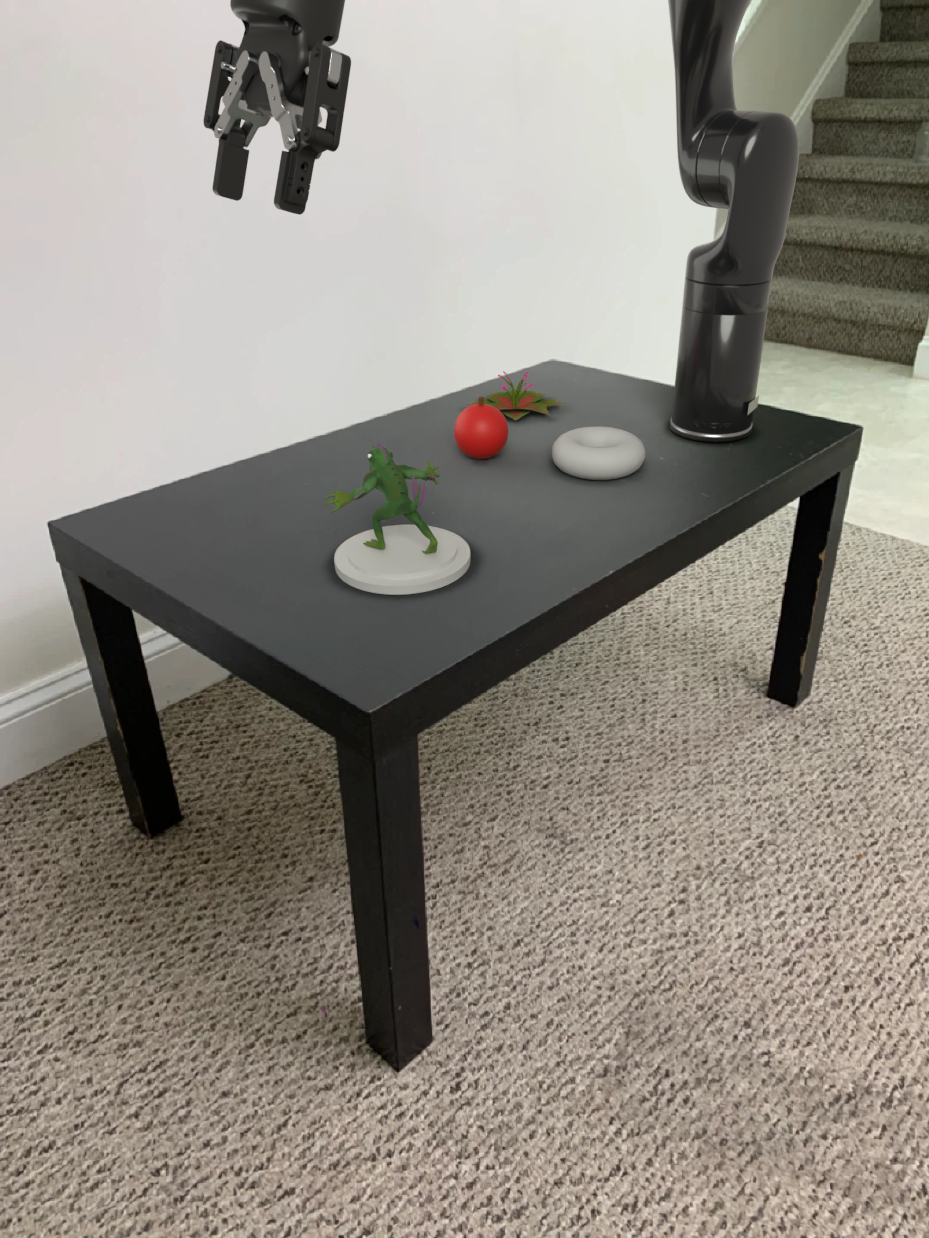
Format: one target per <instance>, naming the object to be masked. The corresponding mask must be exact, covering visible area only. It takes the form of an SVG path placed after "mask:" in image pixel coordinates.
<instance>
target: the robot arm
mask: <svg viewBox="0 0 929 1238" xmlns="http://www.w3.org/2000/svg"><path fill="white" fill-rule="evenodd" d="M750 1H751V0H667V2H668V3H667V5H668V13H669V14H668V15H669V25H670V36H671V43H672V44H671V45H672V54H673V56H672V57H673V66H674V67H673V68H674V81H675V82H674V86H675V87H674V88H675V116H676V122H675V123H676V147H677V148H676V149H677V162H678V170H679V171H678V172H679V176H680V180H681V185H682V188H683V190H684V193H685V194H686V196H687V197H688V198H689V199H690V201H692V202H693V203H695V204H696V205H699V206H702V207H706V208H713V209H720V210H727V215H726V218H725V224H724V227H723V231H722V233H721V234H720V235H719V236H718V237H717V238H715V239H714V240H712V241H709V242H706V243H702V244H699V245H696V246H694V247H693V248H691V249H690V250H689V252H688V254H687V258H686V264H685V265H686V266H685V275H684V283H683V284H684V285H683V294H682V307H681V318H680V327H679V338H678V347H677V357H676V358H677V359H676V369H675V379H674V391H673V397H672V398H673V399H672V409H671V410H672V411H671V417H670V422H669V429H670V430H671V432H672V433H674V434H676V435H677V436H680V437H682V438H686V439H688V440H693V441H698V442H709V443H728V442H733V441H734V442H735V441H739V440H743V439H745V438H747V437H749V436H750V435H751V434H752V431H753V425H754V424H753V423H754V422H753V418H754V411H755V410H756V409H757V408H758V406H759V398H760V395H758V396H757V392H758V391H757V390H758V382H759V376H760V369H761V362H762V356H763V348H764V340H765V333H766V326H767V320H768V312H769V303H770V297H771V291H772V290H771V289H772V282H773V276H774V270H775V265H776V263H777V260H778V258H779V256H780V254H781V251H782V249H783V245H784V243H785V238H786V233H787V228H788V223H789V216H790V211H791V205H792V201H793V197H794V191H795V187H796V181H797V175H798V170H799V161H800V139H799V138H800V137H799V133H798V130H797V126H796V124H795V123H794V120H792V119H791V117H789V115H786V113H782V112H779V111H772V110H771V111H770V110H739V109H738V110H737V105H736V100H735V92H734V77H733V69H734V68H733V62H734V50H735V44H736V40H737V36H738V34H739V30H740V27H741V24H742V22H743V18H744V17H745V15H746V14H745V13H746V11H747V9H748V6H749V4H750ZM345 4H346V0H230V3H229V5H230V10H231V12H232V14H233V15H234V16H235V17H236V18H237V19H239V20H241V22H242V23H243V26H244V31H243V35H242V38H241V42H240V44H239V46H237V45H234V44H232V43H230V42H229V43H228V42H226V41H224V40H221V39H220V40H218V41H217V43H216V44H215V47H214V54H213V60H212V66H211V72H210V78H209V79H210V80H209V84H208V90H207V95H206V103H205V109H204V116H203V126H204V128H205V129H208V130H211V131H213V134H214V138H215V139H217V140H218V147H217V152H216V153H217V154H216V161H215V166H214V169H215V170H214V174H213V182H212V192H213V194H214V195H215V196H218V197H221V198H225V199H228V200H233V201H240V200H241V199H242V198H243V195H244V188H245V182H246V175H247V169H248V162H249V155H250V149H247V148H248V147H249V146H250V145H251V142H252V140H253V139H254V138H255V135H256V134H257V131H258V130H259V129H260V128H263V127H266V126H267V125H268V124H269V123H270V120H271V119H272V118H273V119H274V120H275V121H276V122H277V123H278V125H279V128H280V133H281V138H282V142H283V146H284V149H285V150H287V151H285V150H281V155H280V160H279V168H278V172H277V179H276V184H275V191H274V196H273V205H274V207H275V208H276V209H278V210H281V211H283V212H287V213H291V214H295V215H302V214H304V213H305V211H306V208H307V207H306V206H307V202H308V200H309V195H310V190H311V189H310V188H311V184H312V178H313V172H314V166H315V162H316V160H319V159H320V158H321V157H322V154H323V153H324V152H326V151H329V152H333V153H334V152H336V151H337V150H338V148H339V147H340V141H341V137H342V136H341V134H342V128H343V123H344V116H345V115H344V114H345V108H346V101H347V94H348V88H349V80H350V76H351V75H350V74H351V67H352V58H351V56H349V55H348V54H344V52H341V51H339V50H337V49H334V48H332V46H334V45H335V44H337V42H338V40H339V38H340V31H341V27H342V20H343V15H344V10H345ZM221 101H222V104H223V106H224V108H223V110H222V112H221V113H219V112H220V107H221ZM321 108H322V109H324V110H325V111H326V122H325V127H322V126H320V124H321V123H322V122H323V117H322V111H321ZM242 120H243V121H244V122H243V123H242ZM241 124H242V125H241Z"/></svg>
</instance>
